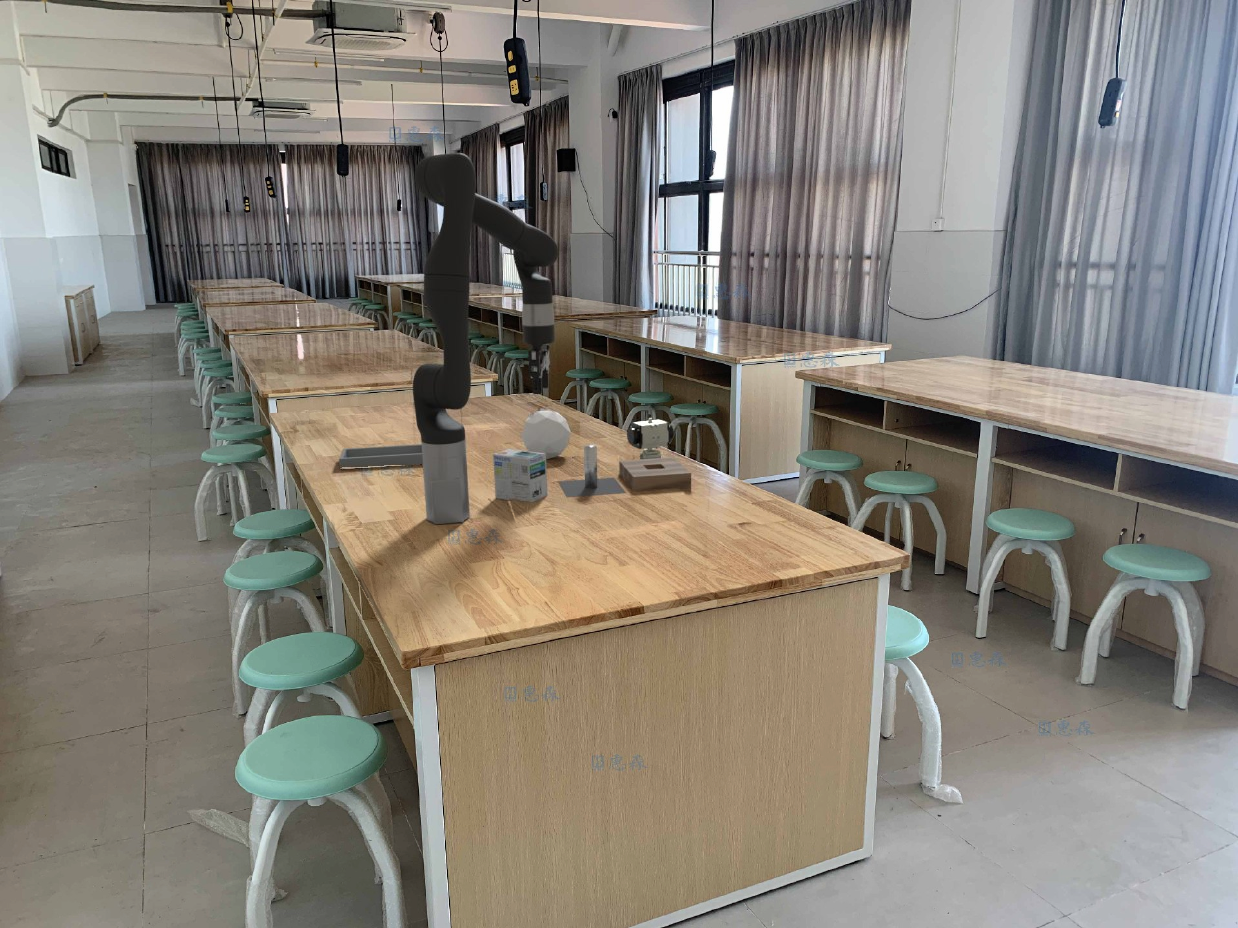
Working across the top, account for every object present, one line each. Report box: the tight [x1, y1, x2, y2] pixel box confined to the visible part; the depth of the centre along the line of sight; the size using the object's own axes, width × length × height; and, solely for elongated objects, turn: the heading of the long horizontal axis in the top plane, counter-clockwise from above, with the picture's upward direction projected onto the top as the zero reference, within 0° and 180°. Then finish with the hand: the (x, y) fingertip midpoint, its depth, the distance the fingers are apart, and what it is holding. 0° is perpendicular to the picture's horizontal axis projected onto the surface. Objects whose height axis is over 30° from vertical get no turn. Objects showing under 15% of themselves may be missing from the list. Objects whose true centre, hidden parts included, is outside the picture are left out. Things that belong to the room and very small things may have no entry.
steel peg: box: [583, 444, 598, 489], centre depth 214 cm, size 3×3×10 cm
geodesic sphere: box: [520, 407, 572, 460], centre depth 245 cm, size 14×14×14 cm
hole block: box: [618, 456, 692, 492], centre depth 220 cm, size 16×14×4 cm
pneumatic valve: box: [626, 417, 675, 459], centre depth 237 cm, size 6×12×12 cm, turn 116°
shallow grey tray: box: [338, 443, 423, 469], centre depth 244 cm, size 12×23×3 cm, turn 102°
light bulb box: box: [493, 448, 549, 503], centre depth 207 cm, size 11×7×11 cm, turn 59°
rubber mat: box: [557, 477, 627, 498], centre depth 215 cm, size 14×14×1 cm
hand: (540, 390), depth 216 cm, fingers open, 8 cm apart
